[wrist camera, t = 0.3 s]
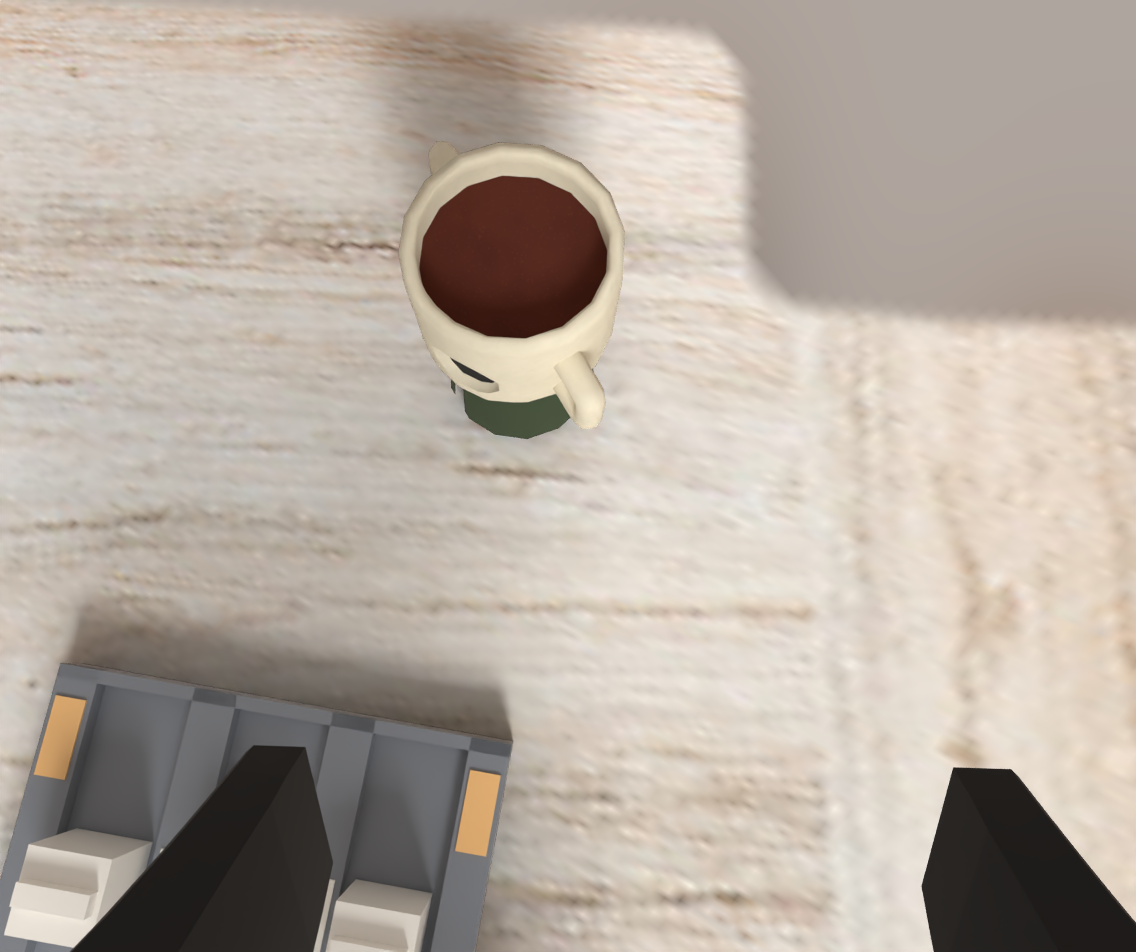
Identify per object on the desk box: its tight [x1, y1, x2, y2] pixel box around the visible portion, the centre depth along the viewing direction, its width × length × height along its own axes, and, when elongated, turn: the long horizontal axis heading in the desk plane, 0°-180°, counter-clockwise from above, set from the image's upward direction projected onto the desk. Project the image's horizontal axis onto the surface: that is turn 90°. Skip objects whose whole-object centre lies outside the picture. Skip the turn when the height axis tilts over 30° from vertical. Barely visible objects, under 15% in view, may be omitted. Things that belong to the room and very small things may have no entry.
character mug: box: [399, 142, 625, 439], centre depth 36 cm, size 11×7×13 cm, turn 30°
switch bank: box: [0, 663, 513, 952], centre depth 36 cm, size 17×18×2 cm
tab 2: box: [326, 879, 432, 952], centre depth 34 cm, size 3×3×4 cm
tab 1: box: [4, 828, 153, 948], centre depth 35 cm, size 3×3×4 cm
